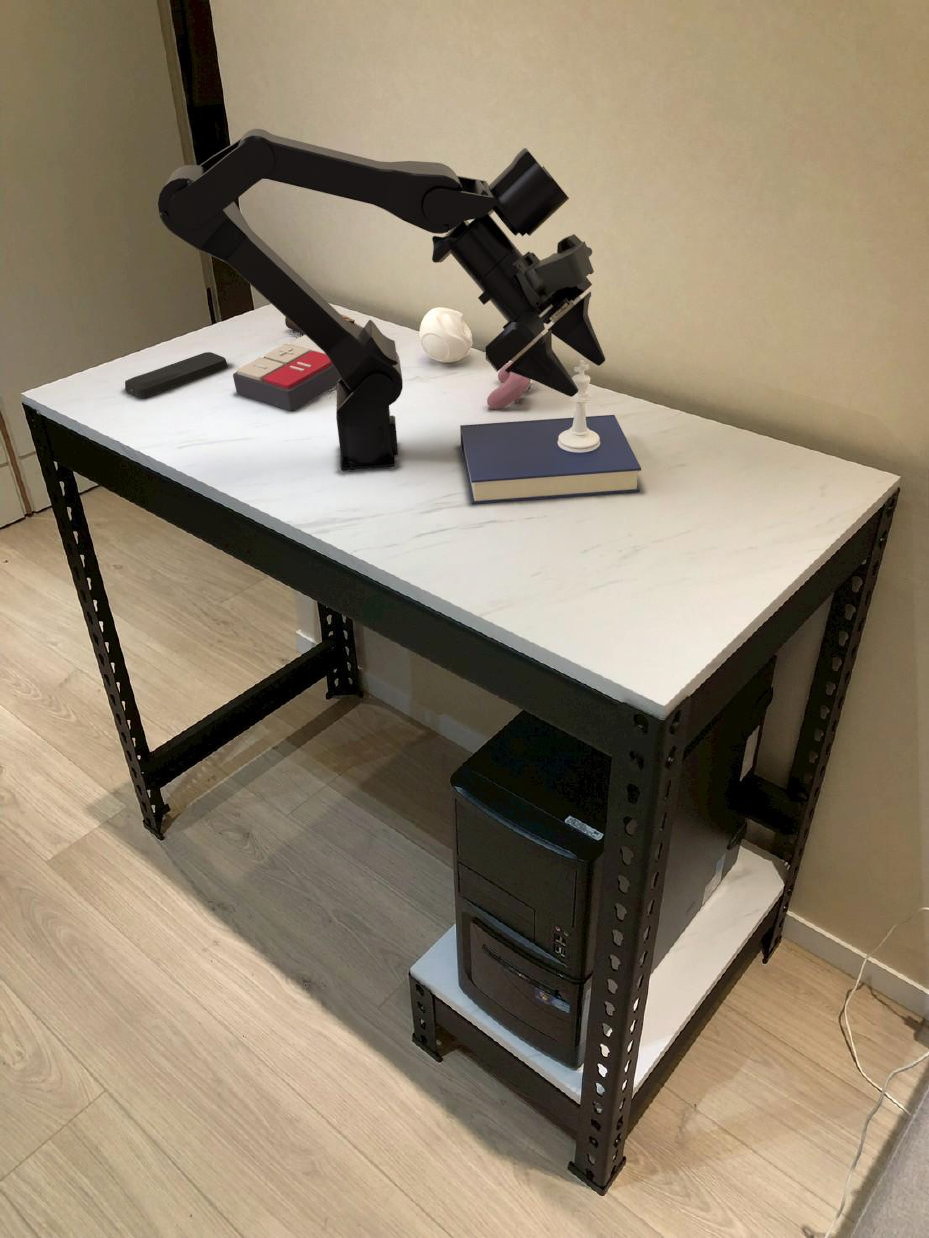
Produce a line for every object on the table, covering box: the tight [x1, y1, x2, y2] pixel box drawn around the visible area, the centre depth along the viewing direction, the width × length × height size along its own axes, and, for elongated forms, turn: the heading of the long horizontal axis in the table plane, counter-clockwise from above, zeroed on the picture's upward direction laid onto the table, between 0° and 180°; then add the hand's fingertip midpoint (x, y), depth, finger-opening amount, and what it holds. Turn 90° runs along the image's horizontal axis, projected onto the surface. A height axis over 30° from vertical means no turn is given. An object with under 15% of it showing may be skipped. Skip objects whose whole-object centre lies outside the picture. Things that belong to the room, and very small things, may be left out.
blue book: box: [459, 414, 642, 505], centre depth 115 cm, size 19×14×3 cm
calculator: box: [232, 334, 341, 412], centre depth 137 cm, size 11×4×15 cm
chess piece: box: [558, 359, 600, 453], centre depth 111 cm, size 5×5×10 cm
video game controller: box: [486, 360, 534, 410], centre depth 131 cm, size 10×5×7 cm, turn 168°
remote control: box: [124, 351, 229, 399], centre depth 140 cm, size 5×2×15 cm
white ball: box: [418, 307, 473, 364], centre depth 141 cm, size 8×8×8 cm
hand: (589, 378), depth 109 cm, fingers open, 9 cm apart
